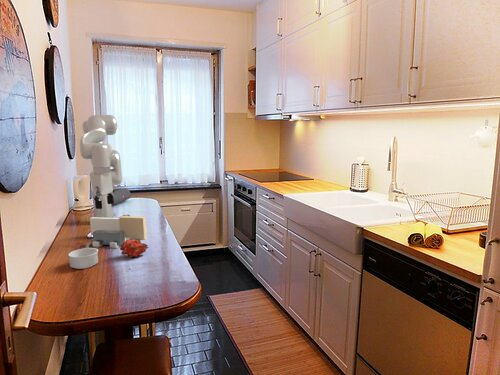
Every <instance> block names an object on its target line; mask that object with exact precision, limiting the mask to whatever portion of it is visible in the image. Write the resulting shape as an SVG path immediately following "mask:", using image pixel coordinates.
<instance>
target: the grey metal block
mask: <svg viewBox="0 0 500 375" xmlns="http://www.w3.org/2000/svg"><path fill="white" fill-rule="evenodd" d="M92 239H93V240H92V242H99V244H100V245H102V246H110V243H111V242H113V243H117V245H122V244H123V242H125V236H124V231H115V230H96V231H94V232H93V237H92Z"/></svg>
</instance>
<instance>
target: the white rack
mask: <svg viewBox="0 0 500 375" xmlns="http://www.w3.org/2000/svg"><path fill="white" fill-rule="evenodd" d="M121 216H122V217H121ZM121 216H119V217H120V218H119V217H113V218H101V217H95V216H92V217H90V218H89V223H90V234H91V235H93V232H94V231H96V230H115V231H124V236H125V241H126V240H130V239H131V240H132V239H134V240H136V239H137V240H141V239H142V241H143V240H146V239H148V229H147V217H146V216H137V215H136V216H134V215H133V216H131V215H130V216H123V215H121ZM102 246H103V245H100V244H99V242H93V241H92V248H96V249H98V248H101V247H102ZM120 247H121V245H117V243H113V242H111V243H110V245H109V249H117V248H120Z"/></svg>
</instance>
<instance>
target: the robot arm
mask: <svg viewBox="0 0 500 375" xmlns="http://www.w3.org/2000/svg"><path fill="white" fill-rule="evenodd" d="M82 130H83V133H84V135H82V137H81V138H80V140H79V153H80V156H81V157H82V159H85V160H90V163H91V166H92V171H91V172H89V180H90V184H91V189H92V190H91V192H90V193H91V196H92V198H93V208H94V217H101V218H114V217H115V216H117V214H116V212H113V207H112V206H113V205H111V204H114V197H113V196H114V191H115V187H116V186H118V185H120V184H122V181H123V173H122V171H123V170H122V162H121V161H122V160H121V156H120V153H119V151H118V150H115V149H113V147H112V145H111V144H110V143H108V142H106V141H105V139H106V138H107V136H113V135H115V134H116V132H117V130H118V121H117V118H116V117H115V116H114V115H112V114H94V115H90V116H89V117H88V119H87V120H85V121H83V122H82Z"/></svg>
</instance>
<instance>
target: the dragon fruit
mask: <svg viewBox="0 0 500 375" xmlns="http://www.w3.org/2000/svg"><path fill="white" fill-rule="evenodd" d="M119 249H120V251H121V253H120V254H121V255H124V256H125V255H126V256H127V258H129V257H130V259H132V258H133V257H137V258H140V257H143V256H144V254H143V253H146V251H147V249H149V246H148V244H147V243H145V242H141V239H130V240H126V241H125V242H123V244H122V245H121V246H119Z"/></svg>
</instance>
